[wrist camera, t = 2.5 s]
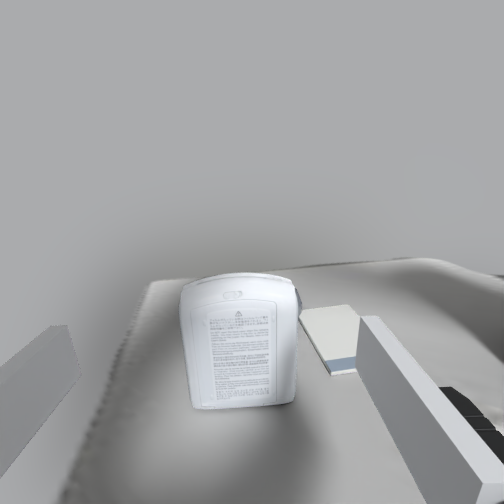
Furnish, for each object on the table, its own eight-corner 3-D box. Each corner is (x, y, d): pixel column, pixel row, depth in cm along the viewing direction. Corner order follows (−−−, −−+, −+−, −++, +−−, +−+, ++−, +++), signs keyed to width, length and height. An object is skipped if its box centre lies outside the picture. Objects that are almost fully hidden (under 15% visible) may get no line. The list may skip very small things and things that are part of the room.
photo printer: (292, 371, 28) (293, 262, 24) (301, 406, 24) (304, 282, 20) (193, 379, 28) (178, 269, 24) (186, 416, 24) (166, 291, 20)
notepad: (347, 307, 40) (347, 304, 40) (402, 364, 28) (403, 360, 28) (295, 313, 39) (295, 310, 38) (331, 375, 27) (331, 371, 27)
